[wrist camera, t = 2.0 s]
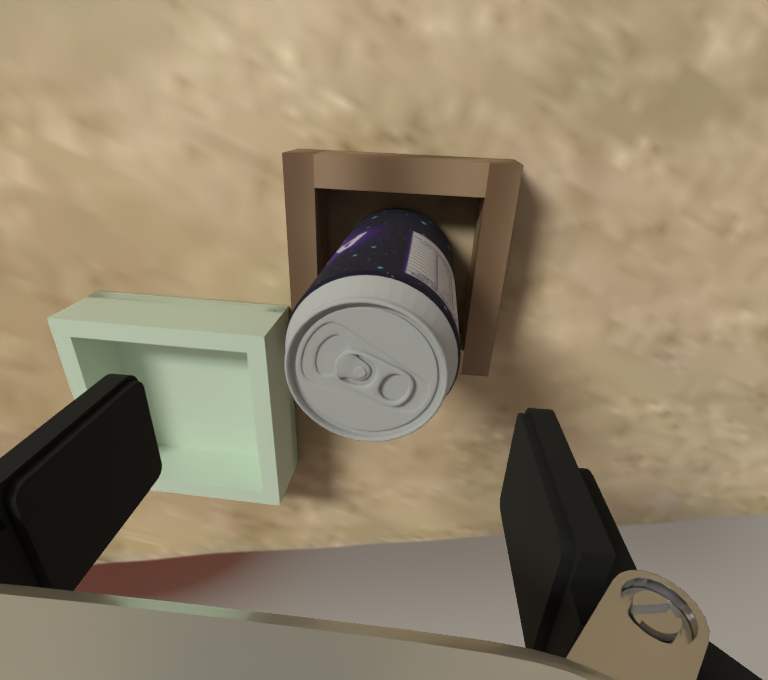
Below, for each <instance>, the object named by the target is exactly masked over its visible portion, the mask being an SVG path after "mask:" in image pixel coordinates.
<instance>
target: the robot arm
mask: <svg viewBox="0 0 768 680" xmlns="http://www.w3.org/2000/svg"><path fill="white" fill-rule="evenodd" d="M161 471H162V462H161V457H160V453H159V449H158V444H157V440H156V436H155V432H154V427H153V423H152V419H151V414H150V410H149V406H148V401H147V397H146V393H145V388H144V385H143V384H142V382H139V381H138V379H137V378H136V377H135V376H133V375H123V374H108V375H106V376H104V377H103V378H102V379H101V380H99V381H98V382H97V383H95V384H94V385H93V386H92V387H90V388H89V389H88V390H87V391H85V392H84V393H83V394H81V395H80V396H79V397H78V398H76V399H75V400H74V401H73V402H71V403H70V404H69V405H67V406H66V407H65V408H64V409H62V410H61V411H60V412H58V413H57V414H56V415H55V416H53V417H52V418H51V419H50V420H48V421H47V422H46V423H44V424H43V425H42V426H41V427H39V428H38V429H37V430H36V431H34V432H33V433H32V434H30V435H29V436H28V437H27V438H25V439H24V440H23V441H22V442H20V443H19V444H18V445H16V446H15V447H14V448H13V449H11V450H10V451H9V452H8V453H6V454H5V455H4V456H2V457H1V458H0V680H762V679H761V678H759V677H758V676H757V675H755V674H754V673H752V672H751V671H749V670H748V669H747V668H745V667H744V666H743V665H741V664H740V663H739V662H737V661H736V660H734V659H733V658H732V657H730V656H729V655H727V654H726V653H725V652H723V651H722V650H720V649H719V648H718V647H716V646H715V645H714V644H712V643H711V642H709V627H708V625H707V621H706V618H705V616H704V615H703V613H702V611H701V610H700V609H699V607H698V605H697V604H696V603H695V602H694V601H693V600H692V599H691V598H690V596H689V595H688V594H686V592H685V591H683V590H682V589H681V588H679V587H678V586H676V585H675V584H674V583H672V582H671V581H669V580H667V579H665V578H663V577H661V576H659V575H657V574H654V573H650V572H647V571H643V570H637V569H636V567H635V564H634V562H633V560H632V558H631V556H630V554H629V552H628V549H627V547H626V545H625V543H624V541H623V539H622V537H621V534H620V533H619V530H618V528H617V526H616V524H615V522H614V519H613V517H612V515H611V513H610V511H609V509H608V506H607V504H606V502H605V500H604V498H603V496H602V494H601V491H600V489H599V487H598V485H597V483H596V481H595V479H594V476H593V475H592V473H591V472H590V471H589V470H588V469H585V468H578V466H577V464H576V461H575V459H574V457H573V454H572V452H571V450H570V448H569V445H568V443H567V441H566V438H565V436H564V434H563V431H562V429H561V427H560V424H559V422H558V420H557V418H556V415H555V413H554V411H553V410H548V409H536V408H528V409H527V410H526V412H525V414H523V413H519V414H518V416H517V419H516V424H515V429H514V434H513V439H512V444H511V448H510V453H509V458H508V463H507V468H506V473H505V477H504V482H503V487H502V492H501V497H500V511H501V517H502V522H503V528H504V533H505V538H506V544H507V549H508V554H509V560H510V565H511V571H512V576H513V581H514V587H515V592H516V598H517V603H518V608H519V614H520V619H521V625H522V630H523V635H524V641H525V646H526V648H523V647H518V646H513V645H507V644H502V643H497V642H491V641H485V640H478V639H471V638H463V637H457V636H449V635H442V634H435V633H428V632H420V631H413V630H405V629H397V628H388V627H380V626H373V625H364V624H356V623H348V622H340V621H331V620H323V619H314V618H306V617H298V616H290V615H281V614H272V613H263V612H255V611H247V610H238V609H229V608H220V607H212V606H203V605H194V604H186V603H177V602H167V601H159V600H151V599H141V598H132V597H123V596H114V595H104V594H95V593H86V592H77V591H74V589H75V588H76V587H77V585H78V584H79V583H80V581H81V580H82V579H83V577H84V576H85V575H86V573H87V572H88V571H89V570H90V568H91V567H92V566H93V564H94V563H95V562H96V560H97V559H98V558H99V556H100V555H101V554H102V552H103V551H104V550H105V548H106V547H107V546H108V544H109V543H110V542H111V540H112V539H113V538H114V537H115V535H116V534H117V533H118V531H119V530H120V529H121V527H122V526H123V525H124V523H125V522H126V521H127V519H128V518H129V517H130V515H131V514H132V513H133V511H134V510H135V509H136V507H137V506H138V505H139V503H140V502H141V501H142V500H143V498H144V497H145V496H146V494H147V493H148V492H149V490H150V489H151V488H152V486H153V485H154V484H155V482H156V481H157V480H158V478H159V476H160V474H161Z"/></svg>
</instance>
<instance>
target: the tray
mask: <svg viewBox="0 0 768 680" xmlns="http://www.w3.org/2000/svg"><path fill="white" fill-rule="evenodd" d="M47 320H48V323H49V326H50V329H51V332H52V335H53V338H54V341H55V344H56V347H57V350H58V353H59V356H60V359H61V362H62V365H63V368H64V371H65V374H66V377H67V380H68V383H69V386H70V389H71V392H72V395H73V398H74V400H75V399H76V398H78V397H79V396H80V395H81V394H83V393H84V392H85V391H87V390H88V389H89V388H90V387H92V386H93V385H94V384H95V383H97V382H98V381H99V380H101V379H102V378H103V377H104V376H106V375H108V374H123V375H133V376H135V377H136V378H137V379H138V381H139V382H142V384H143V385H144V388H145V393H146V397H147V401H148V406H149V410H150V414H151V419H152V423H153V427H154V432H155V436H156V440H157V444H158V449H159V453H160V457H161V462H162V471H161V474H160V476H159V478H158V480H157V481H156V482H155V484H154V485H153V486H152V488H151V489H150V490H153V491H162V492H170V493H178V494H187V495H195V496H204V497H212V498H221V499H229V500H238V501H246V502H255V503H263V504H271V505H280V504H281V502H282V499H283V497H284V495H285V492H286V490H287V487H288V485H289V482H290V480H291V477H292V475H293V473H294V470H295V468H296V465H297V463H298V447H297V432H296V416H295V401H294V397H293V395H292V394H291V392H290V389H289V386H288V384H287V381H286V375H285V331H286V327H287V323H288V320H289V307H288V306H280V305H268V304H256V303H243V302H231V301H218V300H206V299H193V298H181V297H168V296H156V295H143V294H131V293H118V292H106V291H98V292H96V293H94V294H92V295H90V296H88V297H86V298H85V299H83V300H81V301H79V302H77V303H75V304H73V305H71V306H69V307H67V308H65V309H63V310H61V311H59V312H57V313H56V314H54V315H52V316H50V317H48V318H47Z"/></svg>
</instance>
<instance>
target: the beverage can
mask: <svg viewBox="0 0 768 680" xmlns="http://www.w3.org/2000/svg"><path fill="white" fill-rule="evenodd" d="M460 355H461V352H460V339H459V327H458V315H457V303H456V291H455V280H454V268H453V256H452V251H451V247H450V244H449V242H448V240H447V238H446V236H445V234H444V233H443V231H442V230H441V229H440V228H439V226H438V225H437V224H436V223H434V222H433V221H432V220H431V219H429V218H428V217H426V216H425V215H423V214H421V213H418V212H416V211H413V210H409V209H403V208H391V209H385V210H381V211H378V212H375V213H373V214H371V215H369V216H367V217H366V218H364V219H363V220H362V221H361V222H359V223H358V224H357V225H356V227H355V228H354V229H353V230H352V232H351V233H350V234H349V236H348V237H347V238H346V240H345V241H344V242H343V244H342V245H341V246H340V247H339V249H338V250H337V251H336V253H335V254H334V255H333V257H332V258H331V259H330V261H329V262H328V263H327V265H326V266H325V267H324V269H323V270H322V271H321V273H320V274H319V275H318V276H317V278H316V279H315V280H314V282H313V283H312V284H311V286H310V287H309V288H308V290H307V291H306V292H305V294H304V295H303V296H302V298H301V299H300V300H299V302H298V303H297V304H296V306H295V307H294V309H293V311H292V313H291V315H290V317H289V320H288V323H287V327H286V331H285V375H286V381H287V384H288V386H289V389H290V392H291V394H292V395H293V397H294V399H295V401H296V402H297V404H298V405H299V406H300V408H301V409H302V410H303V411H304V412H305V413H306V414H307V415H308V416H309V417H310V418H311V419H312V420H313V421H315V422H316V423H317V424H319V425H320V426H321V427H323V428H325V429H327V430H328V431H330V432H332V433H335V434H337V435H340V436H342V437H346V438H349V439H353V440H359V441H370V442H378V441H388V440H393V439H397V438H400V437H403V436H406V435H408V434H410V433H412V432H414V431H416V430H418V429H419V428H421V427H422V426H423V425H424V424H426V423H427V422H428V421H429V420H430V419H431V418H432V417H433V416H434V415H435V413H436V412H437V411H438V409H439V407H440V406H441V404H442V402H443V400H444V398H445V397H446V396H447V394H448V393H449V391H450V390H451V388H452V386H453V384H454V382H455V380H456V377H457V374H458V371H459V366H460Z"/></svg>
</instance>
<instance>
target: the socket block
mask: <svg viewBox="0 0 768 680" xmlns="http://www.w3.org/2000/svg"><path fill="white" fill-rule="evenodd" d="M282 158H283V174H284V191H285V207H286V224H287V240H288V257H289V273H290V290H291V306H292V311H293V309H294V307H295V306H296V304H297V303H298V302H299V300H300V299H301V298H302V296H303V295H304V294H305V292H306V291H307V290H308V288H309V287H310V286H311V284H312V283H313V282H314V280H315V279H316V278H317V276H318V275H319V274H320V273H321V271H322V270H323V269H324V267H325V266H326V265H327V263H328V262H329V261H328V209H327V189H343V190H360V191H377V192H395V193H412V194H430V195H447V196H464V197H479V205H478V212H477V220H476V228H475V235H474V243H473V251H472V258H471V266H470V274H469V281H468V289H467V297H466V304H465V312H464V320H463V328H462V330H459V339H460V352H461V355H460V366H459V371H458V374H467V375H478V376H488V373H489V367H490V361H491V355H492V349H493V343H494V337H495V331H496V325H497V320H498V314H499V308H500V302H501V296H502V290H503V284H504V278H505V272H506V266H507V260H508V254H509V248H510V242H511V236H512V230H513V224H514V218H515V212H516V206H517V200H518V194H519V188H520V183H521V177H522V171H523V165H522V164H521V163H519V162H518V161H516V160H510V159H490V158H470V157H450V156H430V155H410V154H391V153H371V152H351V151H331V150H311V149H296V150H292V151H287V152H283V153H282Z"/></svg>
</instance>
